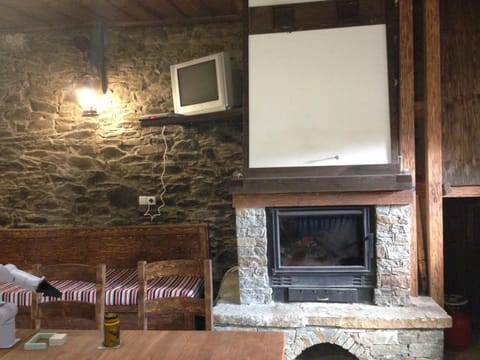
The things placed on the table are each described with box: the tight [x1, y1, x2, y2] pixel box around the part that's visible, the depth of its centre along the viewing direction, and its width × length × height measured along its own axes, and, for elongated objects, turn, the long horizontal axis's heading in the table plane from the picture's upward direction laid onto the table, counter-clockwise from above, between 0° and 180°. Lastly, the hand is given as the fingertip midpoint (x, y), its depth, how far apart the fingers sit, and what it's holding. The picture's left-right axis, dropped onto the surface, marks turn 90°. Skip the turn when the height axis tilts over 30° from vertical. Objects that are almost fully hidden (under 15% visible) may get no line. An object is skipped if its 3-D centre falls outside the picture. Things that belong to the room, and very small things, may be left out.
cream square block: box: [48, 333, 68, 347], centre depth 165 cm, size 5×5×3 cm
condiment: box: [97, 312, 123, 350], centre depth 163 cm, size 7×8×12 cm
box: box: [23, 332, 58, 351], centre depth 165 cm, size 8×11×2 cm
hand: (59, 294), depth 165 cm, fingers open, 7 cm apart
